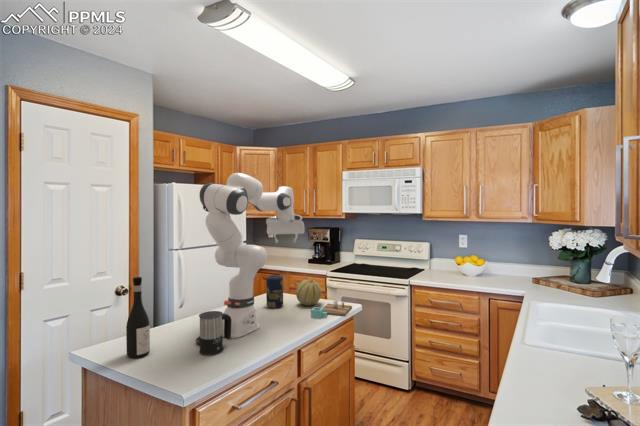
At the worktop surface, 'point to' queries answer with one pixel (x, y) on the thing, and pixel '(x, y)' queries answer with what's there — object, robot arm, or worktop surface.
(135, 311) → the wine bottle
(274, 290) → the canister
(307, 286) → the cantaloupe
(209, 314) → the milk frother
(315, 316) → the teal frame with handle
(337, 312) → the board
